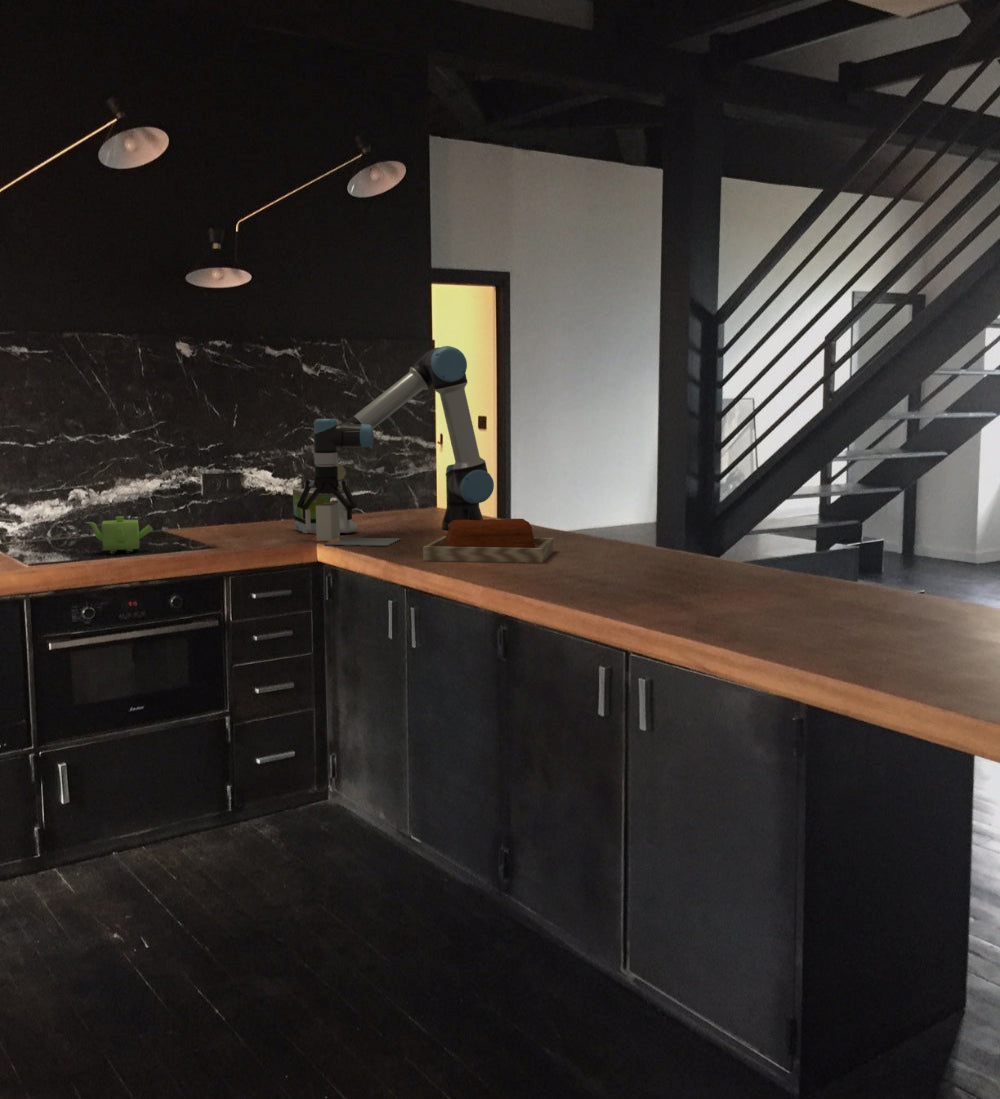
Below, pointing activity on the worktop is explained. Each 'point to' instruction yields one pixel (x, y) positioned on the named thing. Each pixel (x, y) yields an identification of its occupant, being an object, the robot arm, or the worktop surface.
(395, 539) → the mat
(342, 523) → the flower in vase
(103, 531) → the kettle
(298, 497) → the tea box
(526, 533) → the bread
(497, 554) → the wooden tray
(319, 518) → the block
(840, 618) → the worktop surface
